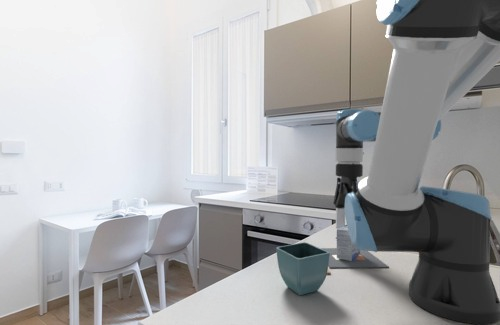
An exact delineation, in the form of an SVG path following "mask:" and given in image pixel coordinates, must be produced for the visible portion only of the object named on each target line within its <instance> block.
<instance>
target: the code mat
mask: <svg viewBox="0 0 500 325" xmlns="http://www.w3.org/2000/svg"><path fill="white" fill-rule="evenodd" d="M319 248H320V249H323V250H325V251H328V252H330V256H329V263H328V269H389V268H390V266H389V265H387V264H386V263H385V262H384V261H382V260H380V259H379V258H378V257H377V256H375V255H374V254H373V253H372V252H371V251H365V250H360V254H359V255H358V256H357V257H356V258H355V259H354V260H353V261H352V262H351V261H347V260H342V259H338V258H337V247H336V248H335V247H333V248H332V247H330V248H329V247H327V248H326V247H324V248H323V247H322V248H321V247H319Z"/></svg>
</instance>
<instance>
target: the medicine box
mask: <svg viewBox="0 0 500 325" xmlns="http://www.w3.org/2000/svg"><path fill="white" fill-rule="evenodd" d="M336 248H337V258H338V259H342V260H347V261H351V262H352V261H353V260H354V259H355V258H356V257H357V256H358V255H359V254H360V249H358V248H356V247H355V246H354V244H353V243H352V241H351V238H350V235H349V232H348V228H347V224H345V226H343V227H341V228H339V229H336Z"/></svg>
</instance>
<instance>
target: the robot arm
mask: <svg viewBox="0 0 500 325" xmlns="http://www.w3.org/2000/svg"><path fill="white" fill-rule="evenodd" d="M376 6H377V8H376V17H377V20H378V21H379V22H380V23H381V24H383V25H385V26H386V31H385V37H386V39H387V40H388V41H389V43H390V44H391V45H392V48H393V51H392V55H391V56H392V57H391V62H390V65H389V70H388V75H387V81H386V86H385V90H384V91H385V92H384V96H383V102H382V106H381V111H374V110H371V109H370V110H368V109H367V110H366V109H365V110H362V109H356V108H350V109H348V108H346V109H342V110H341V109H340V110H338V111H337V113H336V120H335V132H336V133H335V162H336V164H335V176H336V187H335V193H334V197H333V203H332V204H333V205H334V206H335V229H336V230H337V229H339V228H341V227H343V226H345V225H347V228H348V232H349V235H350V238H351V241H352V243H353V244H354V246H355V247H356V248H358V249H360V250H365V251H368V252H374V253H378V252H390V253H391V252H393V253H394V252H396V253H397V252H403V253H405V252H406V253H409V252H410V253H412V252H413V253H418V259H417V260H418V261H417V263H416V266H415V268H414V271H413V273H412V277H411V279H410V280H409V283H408V295H409V298H410V299H411V301H413V303H414V304H416V305H417V306H418V307H420V308H421V309H424V310H425V311H428V312H430V313H431V314H434V315H436V316H439V317H442V318H445V319H448V320H452V321H455V322H461V323H466V324H476V325H487V324H493V323H496V322H498V321H500V298H499V297H498V293H497V290H496V287H495V284H494V281H493V279H492V277H491V272H490V253H491V252H490V246H491V245H490V243H491V242H490V241H491V240H490V239H491V238H490V236H491V221H492V216H491V207H490V206H491V205H490V201H489V199H488V198H487V197H486V196H484V195H482V194H479V193H473V192H467V191H462V190H461V191H460V190H453V189H449V188H447V189H446V188H441V187H440V188H439V187H432V186H425V185H423V186H420V187H419V185H420V182H421V178H422V175H423V173H424V169H425V165H426V162H427V159H428V156H429V154H430V153H429V152H430V149H431V146H432V142H433V141H434V140H435V139H437V138H438V136H439V133H440V132H441V129H442V120H441V119H442V118H444V117H445V116H446V114H447V113H448V112H450V110H451V109H452V108H453V107H455V105H457V104H458V102H460V101H461V100H462V98H463V97H464V96H466V95H467V94H468V93H469V92H470V90H472V89H473V88H474V86H476V85H477V84H478V83H479V82H480V81H481V80H482V79H483V78H484V77H485V76H486V75H487V74H488V73H489V72H490V71H491V70H492V69H493V68H494V67H495V66H496V65H497V64H498V63H499V62H500V0H376ZM364 142H366V143H369V142H373V143H374V147H373V152H372V156H371V161H370V167H369V171H368V176H366V177H363V172H364V171H363V169H364V167H363V166H364V165H363V164H362V162H363V157H364V155H365V152H364V151H363V150H364ZM361 177H363V178H362V179H361V180H359V181H358V178H361Z"/></svg>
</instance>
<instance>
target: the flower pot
mask: <svg viewBox="0 0 500 325" xmlns="http://www.w3.org/2000/svg"><path fill="white" fill-rule="evenodd" d="M320 248H321V247H317V246H316V245H313V244H312V243H308V242H305V241H304V242H298V243H297V242H296V243H293V244H292V243H291V244H288V245H281V246H278V247H275V249H276V250H275V251H276V257H277V266H278V271H279V273H280V277H281V278H282V280H283V282H284V284H285V285H286V287H287V288H289V289H290V290H291V291H293V292H294V293H296V295H297V294H298V295H299V296H304V295H306V294H310V293H314V292H317V291H318V290H320V288H321V287H322V286H323V285H324V282H325V280H326V277H327V275H328V274H327V270H329V267H328V263H329V256H330V252H328V251H325V250H323V249H320Z"/></svg>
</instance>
